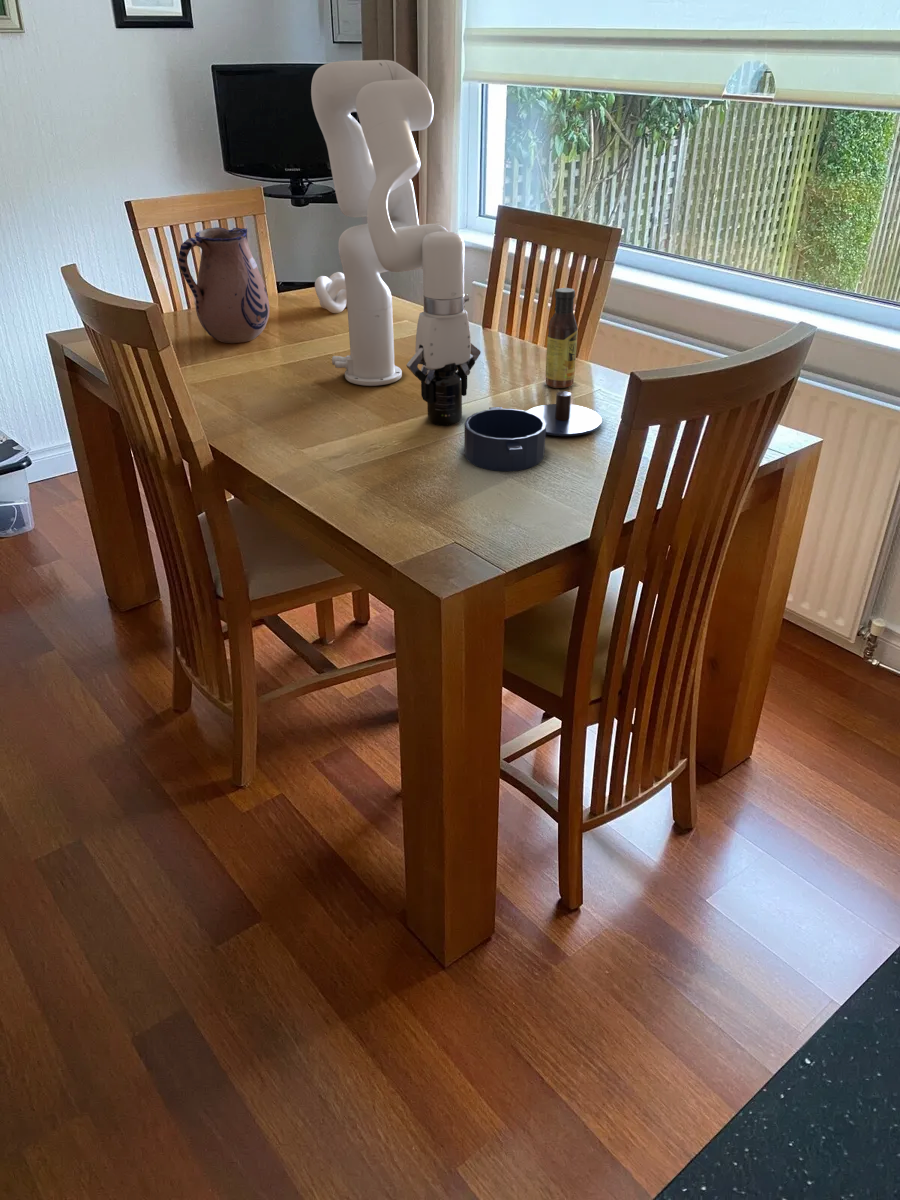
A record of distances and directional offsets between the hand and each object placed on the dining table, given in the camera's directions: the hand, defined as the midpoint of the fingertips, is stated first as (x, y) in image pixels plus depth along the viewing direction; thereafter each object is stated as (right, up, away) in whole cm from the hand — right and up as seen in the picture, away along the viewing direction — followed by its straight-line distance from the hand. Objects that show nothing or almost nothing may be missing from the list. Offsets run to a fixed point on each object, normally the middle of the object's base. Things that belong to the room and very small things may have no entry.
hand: (444, 396), depth 174 cm
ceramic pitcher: (-53, +24, +46) cm, 74 cm away
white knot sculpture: (-30, +39, +68) cm, 84 cm away
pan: (+11, -13, -11) cm, 20 cm away
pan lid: (+23, -5, +1) cm, 23 cm away
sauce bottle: (+25, +7, +19) cm, 32 cm away
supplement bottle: (0, -4, +3) cm, 5 cm away
